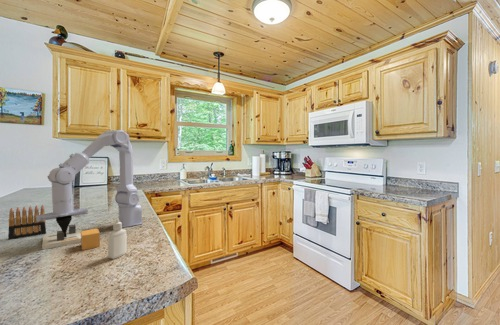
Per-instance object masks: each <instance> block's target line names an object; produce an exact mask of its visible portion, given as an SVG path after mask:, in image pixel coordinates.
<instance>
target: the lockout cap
mask: <svg viewBox="0 0 500 325" xmlns="http://www.w3.org/2000/svg"><path fill="white" fill-rule="evenodd" d="M80 233H81V242H80V246H81V250H82V251H86V250H90V249H94V248H100V247H101V245H100V244H101V240H100V238H101V235H100V231H99V229H98V228H91V229H87V230H80Z"/></svg>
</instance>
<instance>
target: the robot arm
mask: <svg viewBox="0 0 500 325" xmlns="http://www.w3.org/2000/svg"><path fill="white" fill-rule="evenodd" d="M108 146H110V147H113V148H114V149H115V150H116V151H117V152H118V154H119V186H118V187H117V188H116V192H115V196H114V200H115V202H116V203H117V206H118V219H119V222H121V223H122V228H128V227H132V226H139V225H143V221H142V220H143V217H142V216H143V215H142V214H143V211H142V206H141V204H138V203H139V202H140V195H139V192H138V188H137V187H136V186H135V184H134V159H133V158H134V157H133V156H134V154H133V153H134V152H133V146H132V143H131V141H130V134H128V133H127V132H126V131H125V130H123V129H116V130H105V131H103V133H101V134H99V135H98V136H97V137H96V138H95V139H94V140H93V141H92V142H91V143H90V144H88V146H87V147H86V148H85V149H84V150H83V151H82V152H75V153H71V154H69V157H68V158H67V160H65V161H64V162H63V163H60V164H58V167H55V168H52V170H50V171H49V174H48V175H47V179H48V181H49V182H50V183H51V197H52V198H51V200H52V203H51V204H52V212H48V213H45V214H42V215H40V214H39V215H36V222H39V221H43V220H45V221H49V220H54V219H55V220H56V224H58V226H59V227H60V229H61V231H63V232H64V237H67V236H66V232H67V231H68V229H69V225H71V224H70V223H71V221H72V219H73V218H72V217H74V216H75V217H76V216H81V215H83V216H84V215H88V214H89V213H88V212H89V211H88V210H89V208H86V207H85V208H79V209H74V204H73V184H72V182H73V181H75V178H76V175H77V174H78V173H79V172H81V171H82V170H83V169H84V168H85V167H86V166H87V165H89V163H90V159H91V158H92V157H94V155H96V154H97V153H98V152H99V151H101V150H102V149H103V148H104V147H108Z"/></svg>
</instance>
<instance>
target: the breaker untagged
mask: <svg viewBox="0 0 500 325" xmlns="http://www.w3.org/2000/svg"><path fill="white" fill-rule="evenodd" d="M76 230H77V229H76V224H69V226H68V231H69V234H72V233H76Z"/></svg>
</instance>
